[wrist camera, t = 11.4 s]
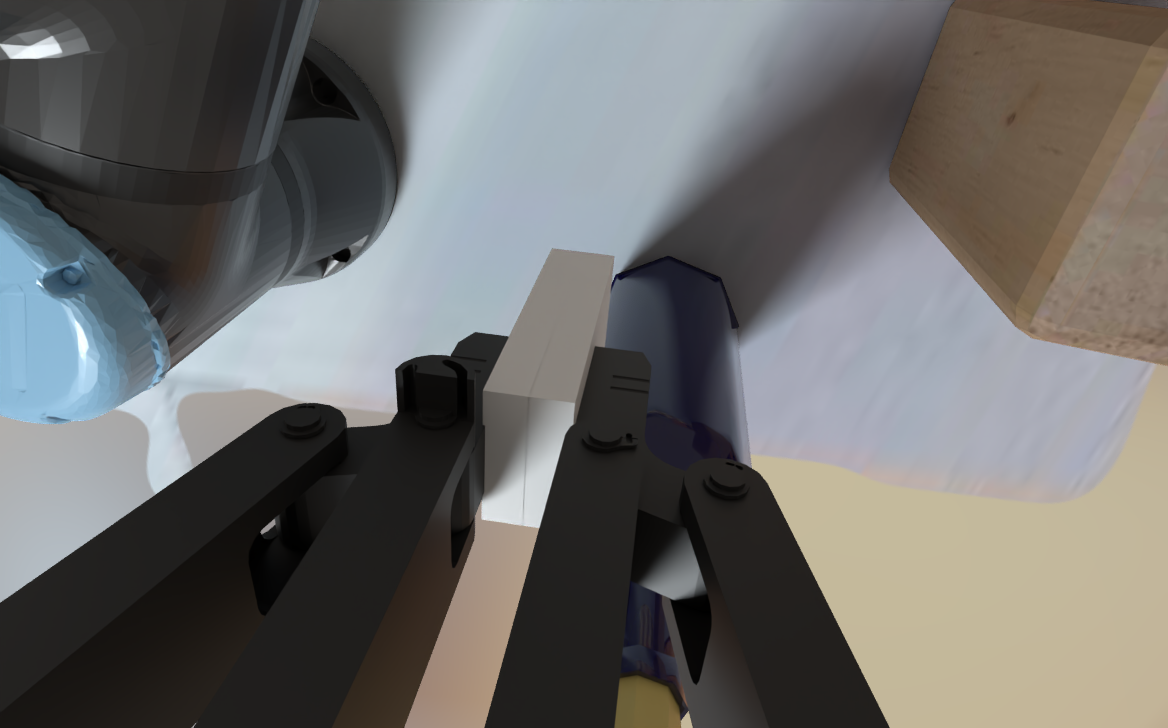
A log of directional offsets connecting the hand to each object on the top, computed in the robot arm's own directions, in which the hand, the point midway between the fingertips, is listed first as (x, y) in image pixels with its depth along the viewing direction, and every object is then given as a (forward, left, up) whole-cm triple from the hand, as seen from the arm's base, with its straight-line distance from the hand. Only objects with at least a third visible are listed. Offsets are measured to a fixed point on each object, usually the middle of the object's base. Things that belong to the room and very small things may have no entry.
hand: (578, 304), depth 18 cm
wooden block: (+19, +2, -27) cm, 33 cm away
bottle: (+3, -13, -27) cm, 30 cm away
